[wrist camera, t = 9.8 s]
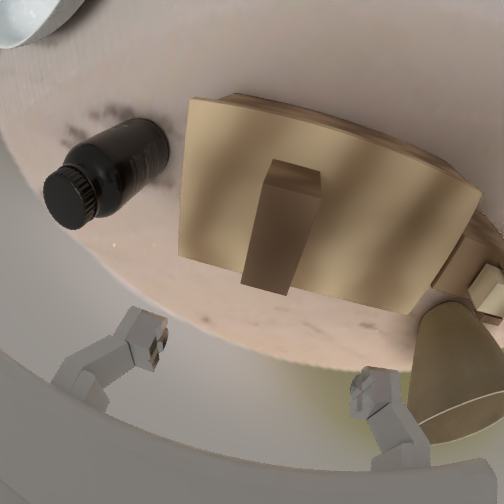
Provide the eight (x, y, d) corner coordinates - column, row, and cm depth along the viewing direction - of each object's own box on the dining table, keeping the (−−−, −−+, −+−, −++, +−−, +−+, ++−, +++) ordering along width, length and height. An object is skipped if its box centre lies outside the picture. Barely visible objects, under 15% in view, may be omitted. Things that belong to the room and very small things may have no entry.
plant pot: (492, 265, 26) (541, 372, 14) (479, 336, 33) (502, 424, 21) (387, 295, 32) (404, 419, 19) (396, 359, 39) (402, 453, 27)
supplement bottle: (130, 105, 24) (42, 142, 15) (182, 141, 26) (109, 195, 16) (106, 156, 28) (30, 209, 19) (152, 190, 30) (86, 257, 20)
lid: (470, 181, 17) (510, 223, 12) (403, 298, 24) (415, 351, 20) (202, 95, 17) (159, 109, 13) (187, 240, 25) (158, 288, 20)
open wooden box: (498, 190, 21) (552, 251, 13) (449, 276, 28) (476, 347, 20) (235, 93, 22) (186, 113, 14) (217, 209, 30) (176, 277, 21)
